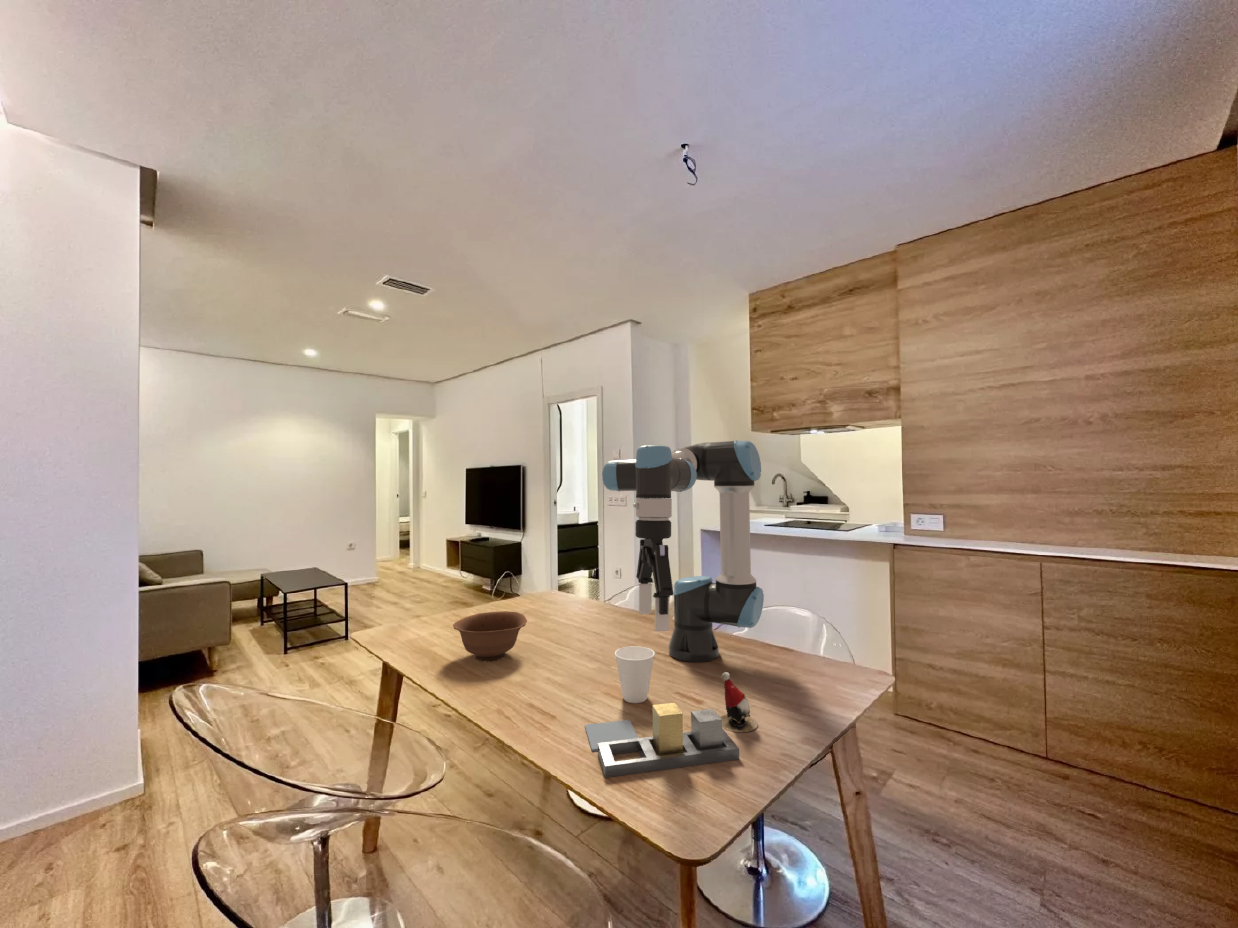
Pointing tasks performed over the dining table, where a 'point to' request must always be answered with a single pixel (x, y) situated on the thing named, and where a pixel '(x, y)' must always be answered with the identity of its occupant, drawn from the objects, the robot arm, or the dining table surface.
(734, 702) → the figurine
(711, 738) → the block
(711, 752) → the grey block holder tray
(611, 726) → the mat
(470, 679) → the dining table surface
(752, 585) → the robot arm
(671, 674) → the dining table surface
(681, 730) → the block
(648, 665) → the cup
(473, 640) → the bowl
